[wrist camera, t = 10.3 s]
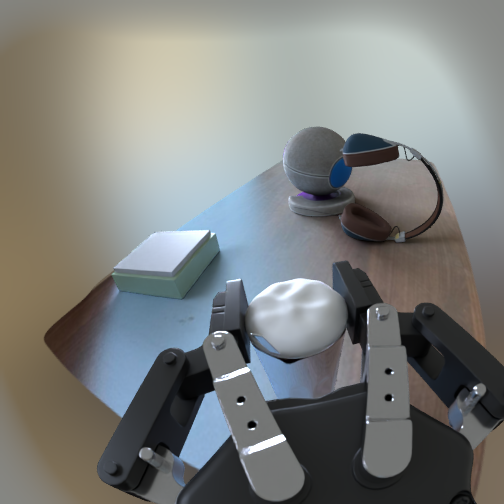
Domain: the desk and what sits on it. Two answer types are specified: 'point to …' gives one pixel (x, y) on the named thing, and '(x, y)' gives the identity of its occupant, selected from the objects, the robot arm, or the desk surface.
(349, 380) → the desk surface
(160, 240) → the scale
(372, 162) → the headphones
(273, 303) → the milkshake
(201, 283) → the desk surface
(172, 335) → the desk surface
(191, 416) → the robot arm
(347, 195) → the webcam
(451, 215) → the desk surface
